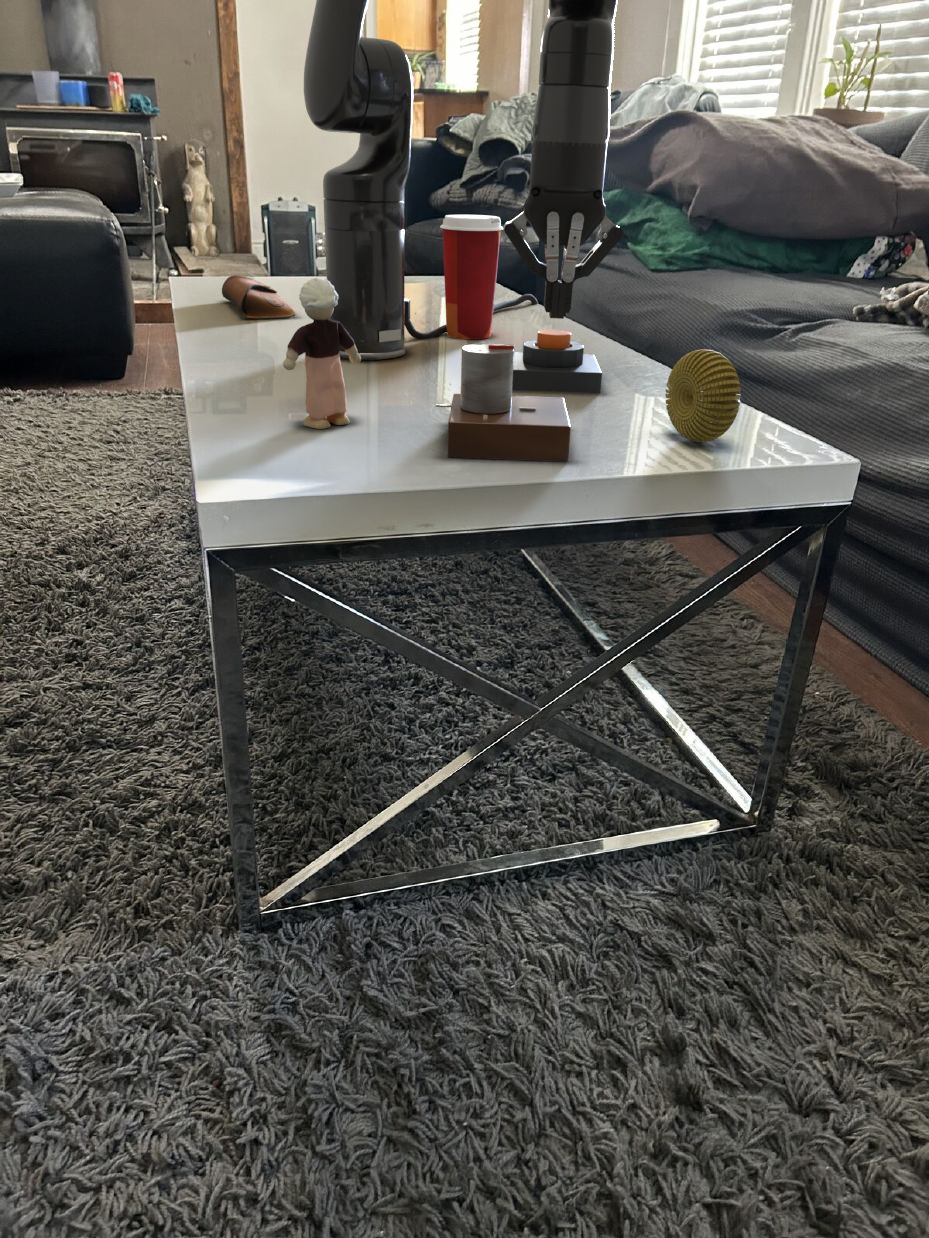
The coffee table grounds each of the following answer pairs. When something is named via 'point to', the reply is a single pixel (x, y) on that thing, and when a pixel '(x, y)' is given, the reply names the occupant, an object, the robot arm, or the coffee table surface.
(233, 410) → the coffee table surface
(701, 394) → the sculpture
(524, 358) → the button box
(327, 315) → the grandmother figurine
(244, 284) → the sunglasses case
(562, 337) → the button
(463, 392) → the lock knob
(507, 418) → the panel
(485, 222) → the coffee cup
